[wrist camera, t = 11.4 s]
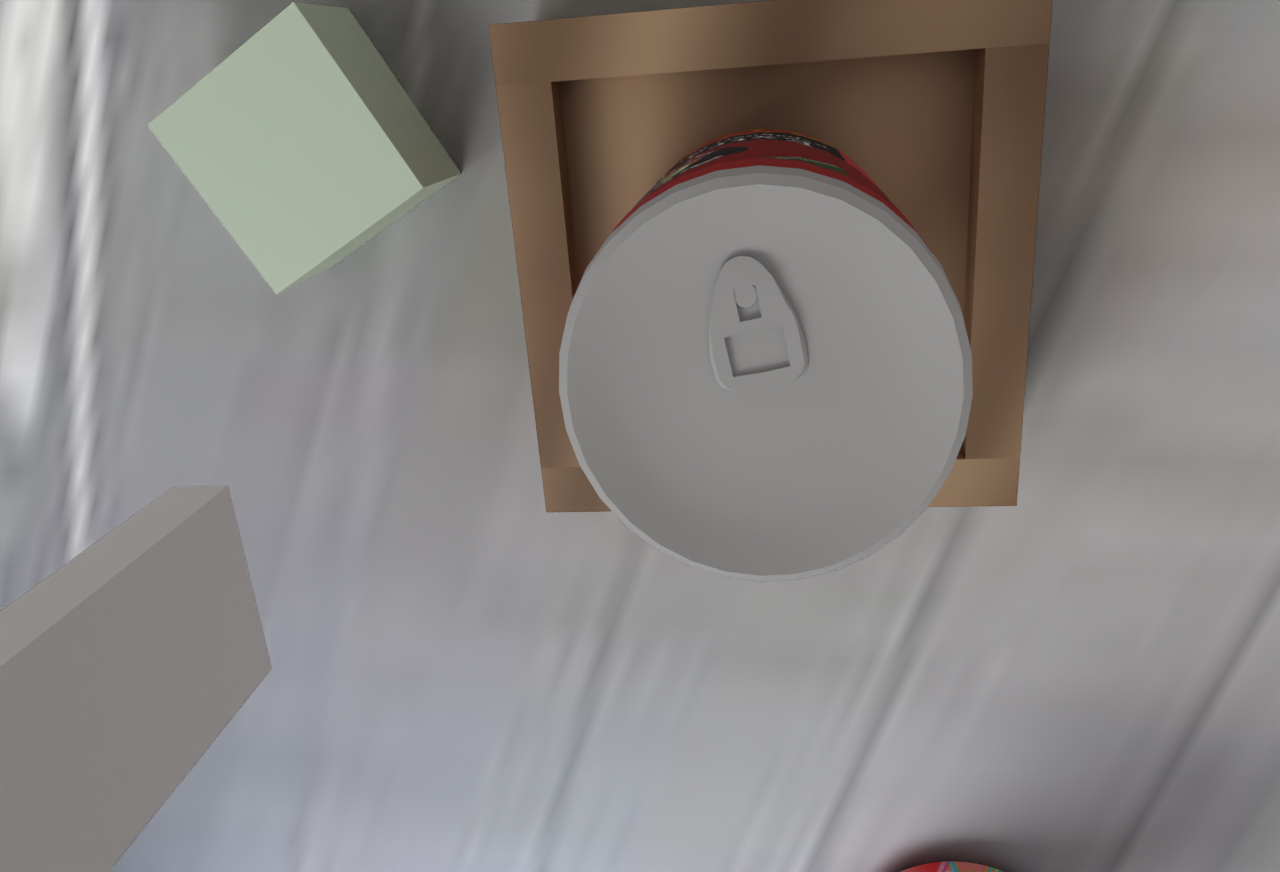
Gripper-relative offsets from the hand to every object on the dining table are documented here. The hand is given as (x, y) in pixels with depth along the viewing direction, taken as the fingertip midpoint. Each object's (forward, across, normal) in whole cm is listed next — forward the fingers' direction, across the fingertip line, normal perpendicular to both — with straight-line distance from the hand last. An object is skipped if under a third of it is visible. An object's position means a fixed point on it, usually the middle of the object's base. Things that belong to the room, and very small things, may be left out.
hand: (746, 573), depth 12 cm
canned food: (+18, 0, 0) cm, 18 cm away
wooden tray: (+21, 0, 0) cm, 21 cm away
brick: (+22, -14, +4) cm, 26 cm away
